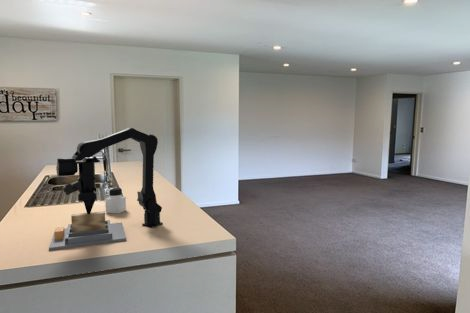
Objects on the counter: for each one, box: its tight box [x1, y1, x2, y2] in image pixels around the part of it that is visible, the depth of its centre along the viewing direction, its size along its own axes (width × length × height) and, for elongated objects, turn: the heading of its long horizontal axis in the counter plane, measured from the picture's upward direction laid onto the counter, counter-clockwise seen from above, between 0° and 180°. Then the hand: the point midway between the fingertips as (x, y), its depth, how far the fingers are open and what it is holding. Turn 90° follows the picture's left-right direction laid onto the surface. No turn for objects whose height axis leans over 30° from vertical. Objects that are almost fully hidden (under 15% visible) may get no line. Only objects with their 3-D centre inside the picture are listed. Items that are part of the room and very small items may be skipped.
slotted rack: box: [48, 219, 127, 251], centre depth 133 cm, size 26×22×4 cm
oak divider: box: [70, 210, 106, 233], centre depth 133 cm, size 12×3×8 cm, turn 113°
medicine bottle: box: [104, 187, 127, 215], centre depth 169 cm, size 7×7×12 cm
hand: (88, 213), depth 132 cm, fingers closed, pressing on oak divider
